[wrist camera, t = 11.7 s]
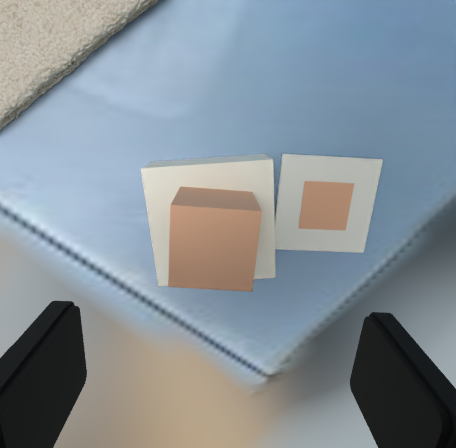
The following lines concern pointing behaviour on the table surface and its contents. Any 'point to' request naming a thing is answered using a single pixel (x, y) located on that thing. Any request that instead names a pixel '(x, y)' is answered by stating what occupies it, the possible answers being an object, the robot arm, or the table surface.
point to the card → (325, 202)
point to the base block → (212, 179)
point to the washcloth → (52, 43)
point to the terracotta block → (213, 239)
